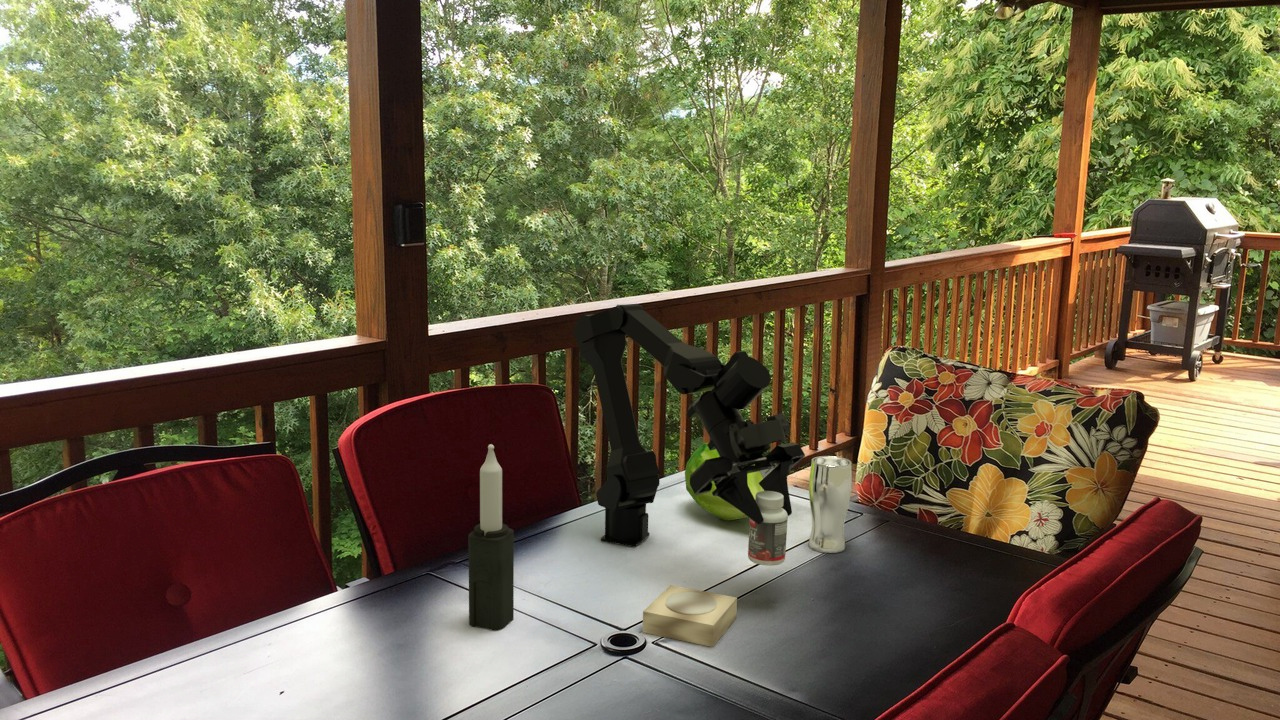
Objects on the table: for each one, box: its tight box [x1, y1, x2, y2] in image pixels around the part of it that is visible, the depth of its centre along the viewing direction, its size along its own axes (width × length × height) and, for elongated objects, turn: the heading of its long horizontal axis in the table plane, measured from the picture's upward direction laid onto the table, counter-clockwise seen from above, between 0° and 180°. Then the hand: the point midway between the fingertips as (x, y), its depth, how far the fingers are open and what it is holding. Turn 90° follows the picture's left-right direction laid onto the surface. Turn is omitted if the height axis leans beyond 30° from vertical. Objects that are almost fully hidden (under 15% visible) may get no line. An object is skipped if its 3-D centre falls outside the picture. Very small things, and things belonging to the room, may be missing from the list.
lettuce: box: [684, 441, 764, 521], centre depth 181 cm, size 15×22×15 cm
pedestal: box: [642, 584, 738, 648], centre depth 137 cm, size 10×10×3 cm
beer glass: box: [808, 455, 853, 554], centre depth 167 cm, size 7×7×15 cm
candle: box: [467, 443, 515, 631], centre depth 135 cm, size 5×5×25 cm
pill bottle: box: [747, 491, 789, 567], centre depth 143 cm, size 5×5×10 cm
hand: (775, 518), depth 141 cm, fingers closed on pill bottle, 5 cm apart
